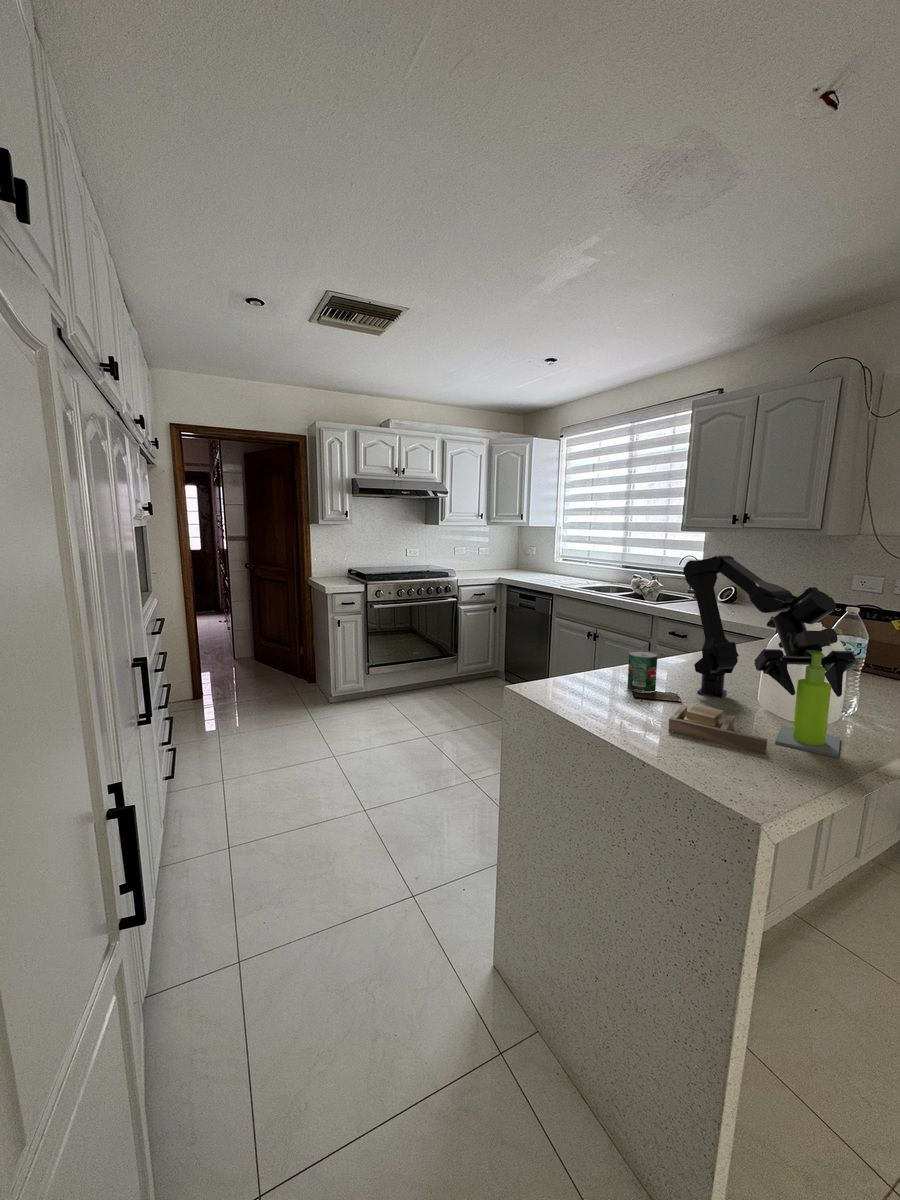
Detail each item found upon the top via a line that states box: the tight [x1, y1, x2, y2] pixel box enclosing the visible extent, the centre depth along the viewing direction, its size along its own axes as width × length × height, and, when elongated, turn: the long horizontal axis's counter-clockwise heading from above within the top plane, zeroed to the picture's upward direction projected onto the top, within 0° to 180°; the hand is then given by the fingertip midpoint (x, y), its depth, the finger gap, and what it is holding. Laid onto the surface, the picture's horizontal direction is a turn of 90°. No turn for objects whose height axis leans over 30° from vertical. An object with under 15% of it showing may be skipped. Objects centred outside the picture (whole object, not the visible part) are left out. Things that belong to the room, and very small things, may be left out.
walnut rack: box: [668, 705, 768, 755], centre depth 113 cm, size 11×20×3 cm, turn 50°
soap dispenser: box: [792, 650, 832, 745], centre depth 108 cm, size 6×7×20 cm
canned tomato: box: [626, 649, 658, 692], centre depth 144 cm, size 8×8×11 cm
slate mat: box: [774, 725, 841, 759], centre depth 109 cm, size 11×11×1 cm
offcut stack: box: [684, 704, 724, 728], centre depth 116 cm, size 8×7×4 cm
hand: (816, 695), depth 106 cm, fingers open, 9 cm apart
